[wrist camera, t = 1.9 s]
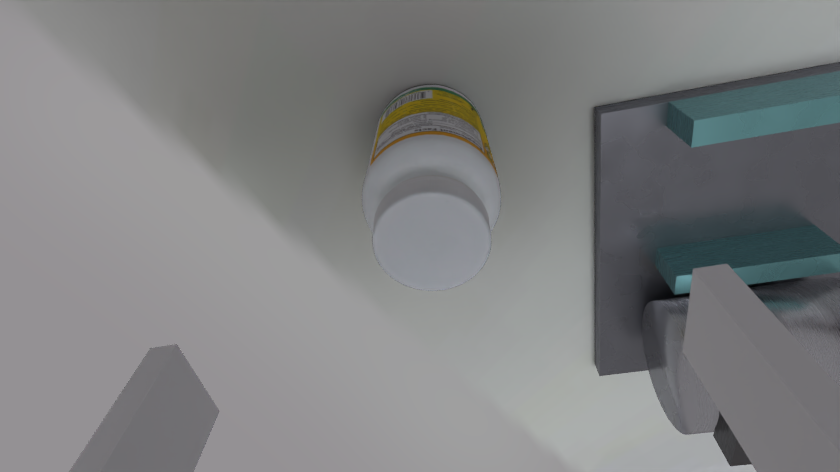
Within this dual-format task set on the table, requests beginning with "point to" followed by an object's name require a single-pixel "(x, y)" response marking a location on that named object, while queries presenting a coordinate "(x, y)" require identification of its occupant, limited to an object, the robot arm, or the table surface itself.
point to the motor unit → (716, 224)
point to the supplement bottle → (431, 189)
